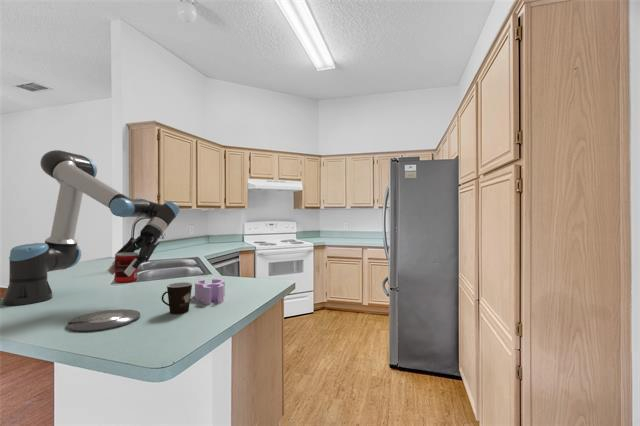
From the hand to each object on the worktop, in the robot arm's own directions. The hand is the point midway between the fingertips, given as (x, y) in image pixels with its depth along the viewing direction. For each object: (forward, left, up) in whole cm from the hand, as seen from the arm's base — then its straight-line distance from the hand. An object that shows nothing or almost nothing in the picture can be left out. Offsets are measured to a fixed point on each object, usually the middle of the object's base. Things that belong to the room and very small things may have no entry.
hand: (118, 273), depth 118 cm
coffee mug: (+24, +3, -14) cm, 28 cm away
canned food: (0, +3, -4) cm, 5 cm away
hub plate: (+9, -12, -14) cm, 20 cm away
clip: (+23, +25, -14) cm, 37 cm away
